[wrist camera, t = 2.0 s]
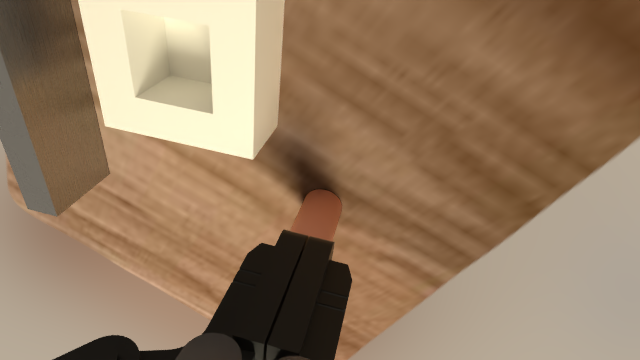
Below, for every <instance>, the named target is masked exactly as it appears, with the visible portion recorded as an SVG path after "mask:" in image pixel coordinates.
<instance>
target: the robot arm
mask: <svg viewBox="0 0 640 360" xmlns="http://www.w3.org/2000/svg"><path fill="white" fill-rule="evenodd" d="M333 249H334V242H332V241H328V240H324V239H320V238H316V237H312V236H310V237H308V235H304V234H300V233H296V232H292V231H288V230H283V231H282V233H281V235H280V237H279V239H278V241H277V243H276V245H275V246H272V245H268V244H264V243H261V244H259V245H258V246H257V247H256V248H254V249H253V250H252V251H250V252H249V253H248V254H247V256H246V258H245V259H244V261H243V263H242V265H241V267H240V270H239V271H238V272H237V274H236V276H235V278H234V279H233V283H231V285H230V287H229V289H228V290H227V292H226V294H225V296H224V298H223V299H222V301H221V303H220V305H219V307H218V309H217V310H216V312H215V314H214V316H213V318H212V320H211V321H210V323H209V325H208V327H207V328H206V330H205V331H204V332H203V334H202V335H200V336H198V337H196V338H194V339H192V340H191V341H189V342H188V343H187V344H186V345H185V346H184V347H181V348H177V349H172V350H154V351H139V350H138V347H137V345H136V344H135V343H134V342H133V341H132V340H131V339H129V338H127V337H124V336H119V335H111V336H106V337H102V338H99V339H96V340H94V341H92V342H89V343H87V344H85V345H83V346H81V347H79V348H77V349H75V350H72V351H70V352H68V353H66V354H64V355H62V356H60V357H57V358H56V359H53V360H334V358H335V354H336V349H337V345H338V341H339V336H340V332H341V327H342V323H343V319H344V314H345V310H346V305H347V301H348V297H349V292H350V288H351V283H352V278H351V274H350V270H349V267H348V265H347V264H343V263H339V262H335V261H332V255H333Z"/></svg>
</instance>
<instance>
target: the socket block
mask: <svg viewBox="0 0 640 360" xmlns="http://www.w3.org/2000/svg"><path fill="white" fill-rule="evenodd" d="M78 2H79V7H80V11H81V16H82V20H83V25H84V30H85V34H86V39H87V44H88V48H89V53H90V58H91V62H92V67H93V71H94V76H95V81H96V85H97V90H98V95H99V99H100V104H101V109H102V113H103V118H104V122H105V126H107V127H112V128H116V129H120V130H125V131H129V132H134V133H138V134H142V135H147V136H151V137H156V138H160V139H165V140H169V141H173V142H178V143H182V144H187V145H191V146H195V147H200V148H204V149H209V150H213V151H217V152H222V153H226V154H231V155H235V156H240V157H244V158H248V159H254V158H255V156H256V155H257V153H258V152H259V151H260V149H261V148H262V147H263V145H264V144H265V142H266V141H267V140H268V138H269V137H270V136H271V134H272V133H273V131H274V130H275V129H276V127H277V126H278V109H279V91H280V73H281V56H282V38H283V20H284V3H285V0H78Z"/></svg>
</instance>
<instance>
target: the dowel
mask: <svg viewBox="0 0 640 360" xmlns="http://www.w3.org/2000/svg"><path fill="white" fill-rule="evenodd" d="M341 211H342V204H341V201H340V199H339V198H338V197H337V196H336V195H335V194H334V193H332V192H330V191H328V190H323V189H317V190H313V191H311V192H309V193H308V194H307V195H306V197H305V199H304V201H303V204H302V206H301V208H300V210H299V213H298V215H297V217H296V219H295V221H294V224H293V226H292V228H291V230H290V231H292V232H296V233H300V234H304V235H308V237H310V236H312V237H316V238H320V239H324V240H328V241H332V240H333V237H334V234H335V230H336V227H337V224H338V221H339V218H340V214H341Z"/></svg>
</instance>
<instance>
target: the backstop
mask: <svg viewBox="0 0 640 360" xmlns="http://www.w3.org/2000/svg"><path fill="white" fill-rule="evenodd" d="M0 139H1V142H2V144H3V147H4V149H5V152H6V154H7V157H8V159H9V162H10V165H11V167H12V170H13V172H14V175H15V177H16V180H17V182H18V185H19V188H20V190H21V193H22V195H23V198H24V200H25V203H26V205H27V208H28V209H30V210H34V211H38V212H42V213H46V214H50V215H53V216H59V215H60V214H61V213H62V212H63V211H65V210H66V209H67V208H68V207H70V206H71V205H72V204H73V203H75V202H76V201H77V200H78V199H79V198H81V197H82V196H83V195H84V194H86V193H87V192H88V191H89V190H91V189H92V188H93V187H94V186H95V185H97V184H98V183H99V182H100V181H102V180H103V179H104V178H105V177H107V176H108V175H109V174H110V173H109V168H108V164H107V160H106V155H105V151H104V147H103V142H102V138H101V133H100V129H99V125H98V120H97V116H96V112H95V107H94V103H93V98H92V94H91V90H90V85H89V81H88V77H87V72H86V68H85V63H84V59H83V55H82V50H81V46H80V42H79V37H78V33H77V29H76V24H75V20H74V15H73V11H72V7H71V2H70V0H0Z"/></svg>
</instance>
